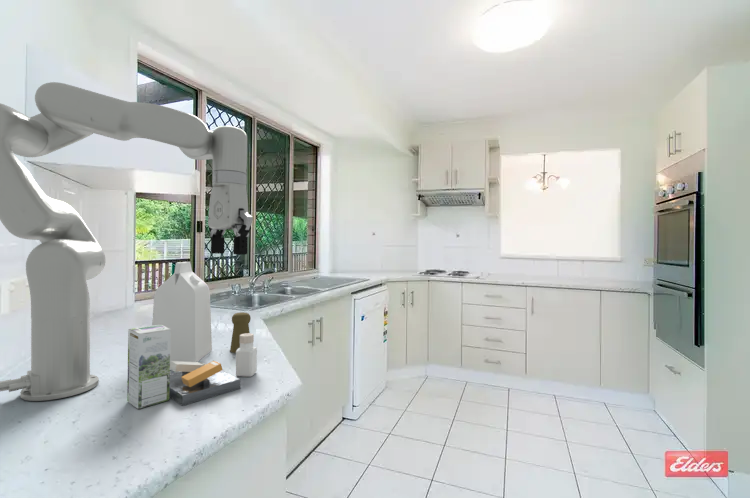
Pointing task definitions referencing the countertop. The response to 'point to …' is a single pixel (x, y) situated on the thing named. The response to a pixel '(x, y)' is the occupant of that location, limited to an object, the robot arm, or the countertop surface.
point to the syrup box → (148, 365)
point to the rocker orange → (201, 373)
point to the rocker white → (185, 366)
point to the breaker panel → (201, 387)
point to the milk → (185, 314)
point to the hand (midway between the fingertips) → (228, 253)
